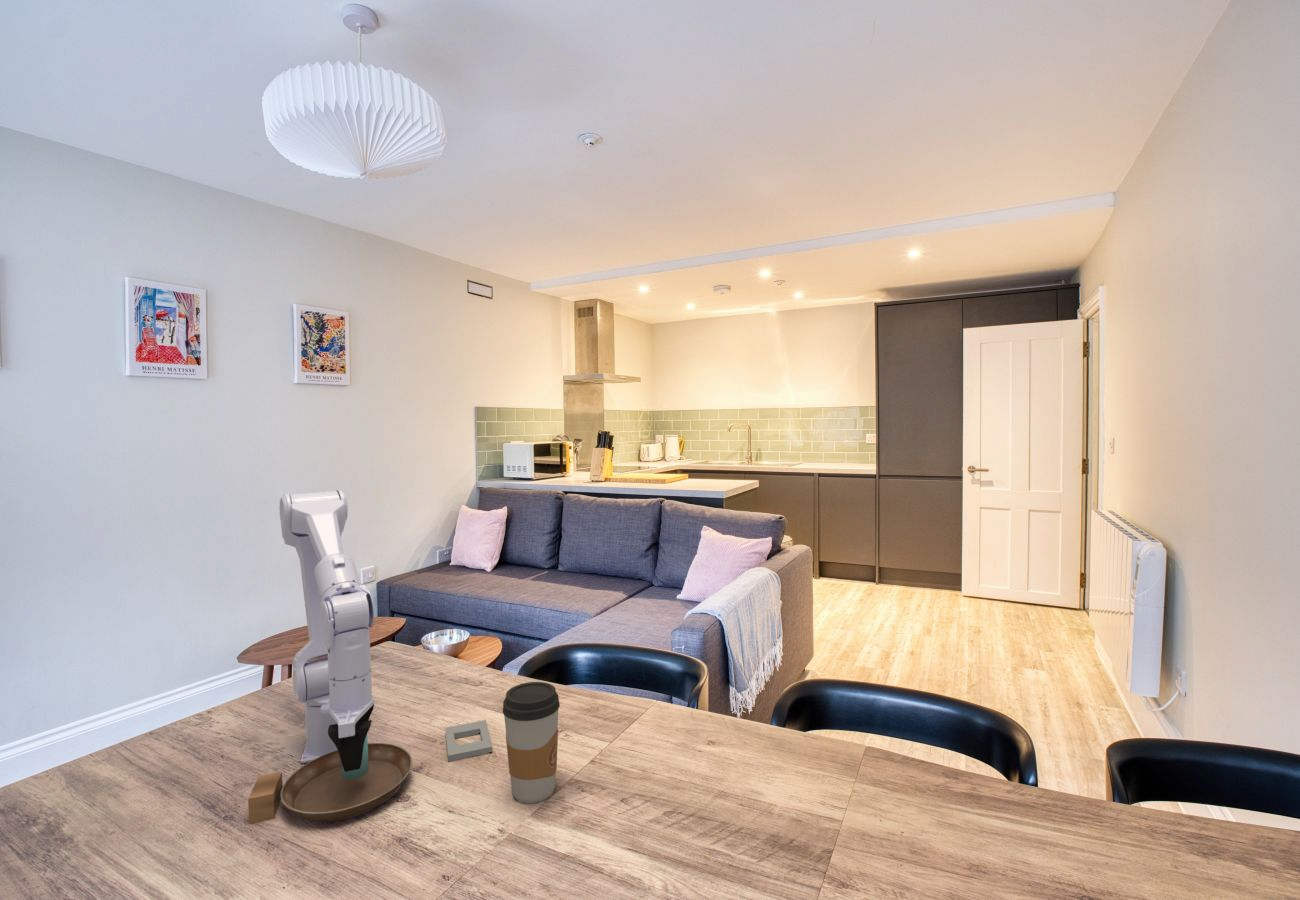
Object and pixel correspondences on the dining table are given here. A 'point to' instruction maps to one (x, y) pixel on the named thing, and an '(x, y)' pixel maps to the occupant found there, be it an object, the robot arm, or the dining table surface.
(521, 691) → the coffee cup
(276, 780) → the stop block
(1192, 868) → the dining table surface
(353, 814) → the plant saucer
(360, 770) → the dowel
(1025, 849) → the dining table surface
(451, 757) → the socket block
